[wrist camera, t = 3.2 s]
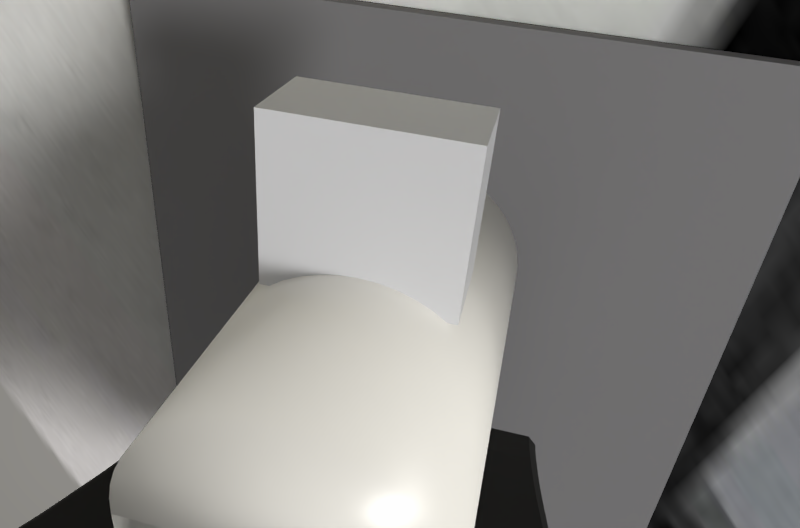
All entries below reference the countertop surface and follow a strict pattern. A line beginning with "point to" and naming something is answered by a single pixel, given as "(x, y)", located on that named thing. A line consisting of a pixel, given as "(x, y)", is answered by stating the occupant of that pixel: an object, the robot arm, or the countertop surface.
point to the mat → (508, 204)
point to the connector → (345, 330)
